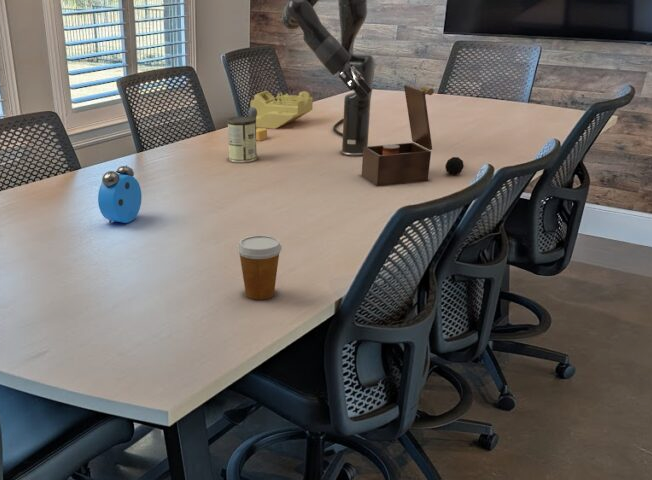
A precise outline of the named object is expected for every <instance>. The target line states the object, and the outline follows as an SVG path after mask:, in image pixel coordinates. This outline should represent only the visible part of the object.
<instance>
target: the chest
mask: <svg viewBox="0 0 652 480" xmlns="http://www.w3.org/2000/svg"><path fill="white" fill-rule="evenodd" d="M393 144H394V145H399V146H400V150H399V154H390V155H382V151H383V150H382V147H383V145H384V144H381V145H380V144H379V145H371V146H369V145H368V147H363V155H362V161H361V162H362V163H361V177H363V178H365V180H367V181H369V182H370V183H371V184H373V185H375V186H376V187H380V186H390V185H402V184H411V183H422V182H423V183H424V182H429V175H430V165H431V156H432V150H429V149H427V148H425V147H423V146H421V145H419V144H417V143H415V142H403V143H401V142H400V143H393Z"/></svg>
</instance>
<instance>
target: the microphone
mask: <svg viewBox="0 0 652 480" xmlns="http://www.w3.org/2000/svg"><path fill="white" fill-rule="evenodd" d="M464 167H465V166H464V161H463V160H462V159H461V158H460V157H458V156H453V157H450V158H449V159H448V160H447V161H446V163H445V171H446V173H448V174H449V175H452V176H457V175H459V174H460V173H462V171H463V169H464Z"/></svg>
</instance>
